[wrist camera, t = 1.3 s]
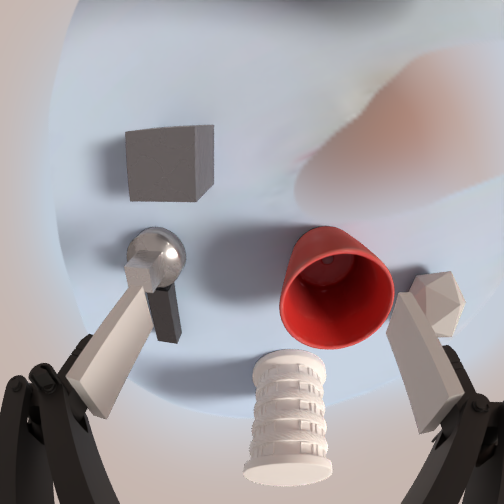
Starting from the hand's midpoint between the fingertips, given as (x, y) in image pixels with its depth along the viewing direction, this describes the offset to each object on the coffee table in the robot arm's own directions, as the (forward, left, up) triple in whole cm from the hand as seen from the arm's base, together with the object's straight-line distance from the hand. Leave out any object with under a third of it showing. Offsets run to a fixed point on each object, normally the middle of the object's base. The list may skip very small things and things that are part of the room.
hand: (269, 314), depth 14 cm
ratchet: (+11, -14, -18) cm, 26 cm away
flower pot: (+6, +6, -18) cm, 20 cm away
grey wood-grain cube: (-5, -10, -18) cm, 21 cm away
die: (+10, +21, -18) cm, 30 cm away
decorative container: (+27, +4, -18) cm, 33 cm away
